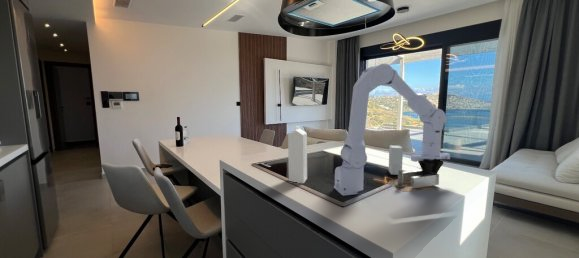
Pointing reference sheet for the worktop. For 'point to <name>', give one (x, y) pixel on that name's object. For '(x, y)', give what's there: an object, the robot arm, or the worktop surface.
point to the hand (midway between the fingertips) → (429, 179)
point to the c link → (420, 178)
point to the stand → (408, 184)
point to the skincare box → (395, 159)
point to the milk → (297, 155)
